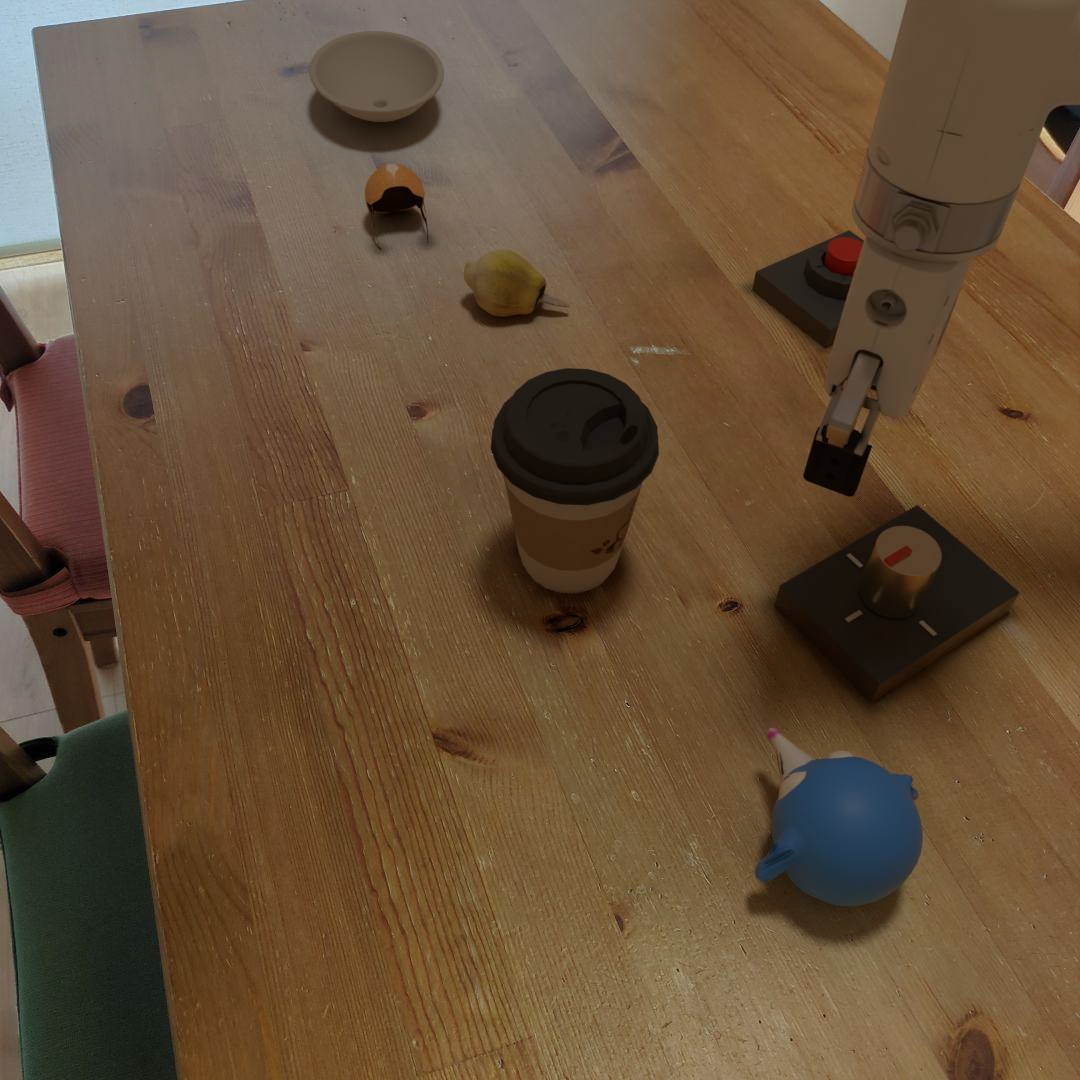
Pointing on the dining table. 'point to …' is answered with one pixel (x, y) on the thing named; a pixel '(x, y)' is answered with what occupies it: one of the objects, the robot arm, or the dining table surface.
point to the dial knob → (900, 572)
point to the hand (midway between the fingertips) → (854, 435)
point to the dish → (376, 74)
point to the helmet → (394, 191)
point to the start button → (843, 255)
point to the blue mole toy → (841, 826)
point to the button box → (807, 290)
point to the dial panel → (883, 643)
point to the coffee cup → (573, 472)
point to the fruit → (507, 284)
